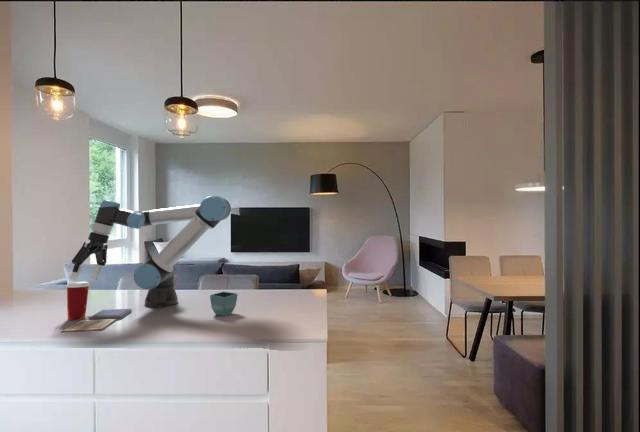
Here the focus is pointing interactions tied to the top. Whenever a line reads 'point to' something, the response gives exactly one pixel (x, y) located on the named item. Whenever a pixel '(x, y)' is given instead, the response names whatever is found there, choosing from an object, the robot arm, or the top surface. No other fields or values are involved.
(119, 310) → the pad
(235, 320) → the top surface
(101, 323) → the wooden square board
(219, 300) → the flower pot
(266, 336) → the top surface
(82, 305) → the coffee cup
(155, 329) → the top surface
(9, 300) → the top surface
